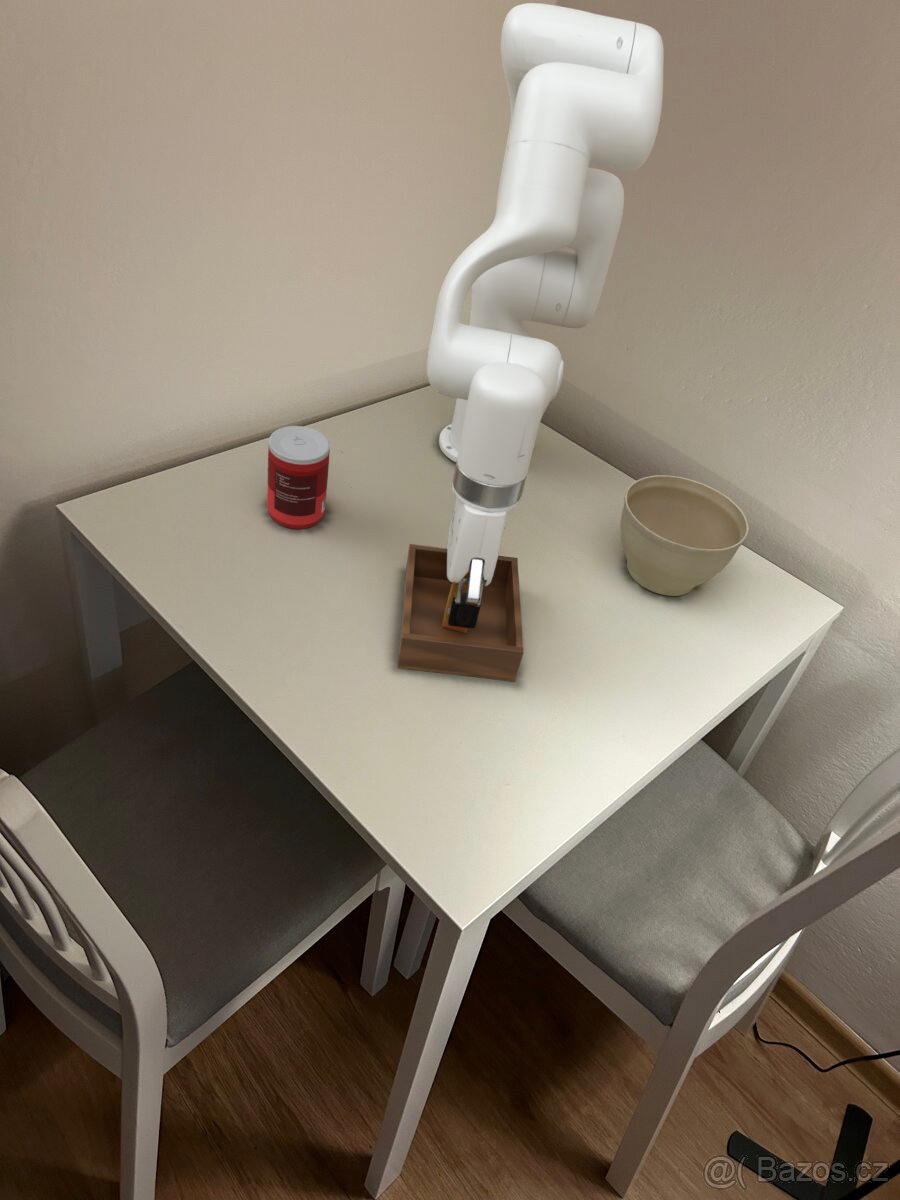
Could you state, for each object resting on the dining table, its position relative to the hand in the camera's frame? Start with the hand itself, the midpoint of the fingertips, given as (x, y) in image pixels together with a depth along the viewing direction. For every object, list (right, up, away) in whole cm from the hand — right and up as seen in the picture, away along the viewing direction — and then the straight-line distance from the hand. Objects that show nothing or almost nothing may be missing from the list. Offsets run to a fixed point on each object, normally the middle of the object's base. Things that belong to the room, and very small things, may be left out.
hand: (461, 603), depth 106 cm
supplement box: (-1, -2, +2) cm, 3 cm away
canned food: (-22, +12, +14) cm, 29 cm away
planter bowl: (+27, +4, +16) cm, 32 cm away
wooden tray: (-1, -3, +2) cm, 4 cm away
